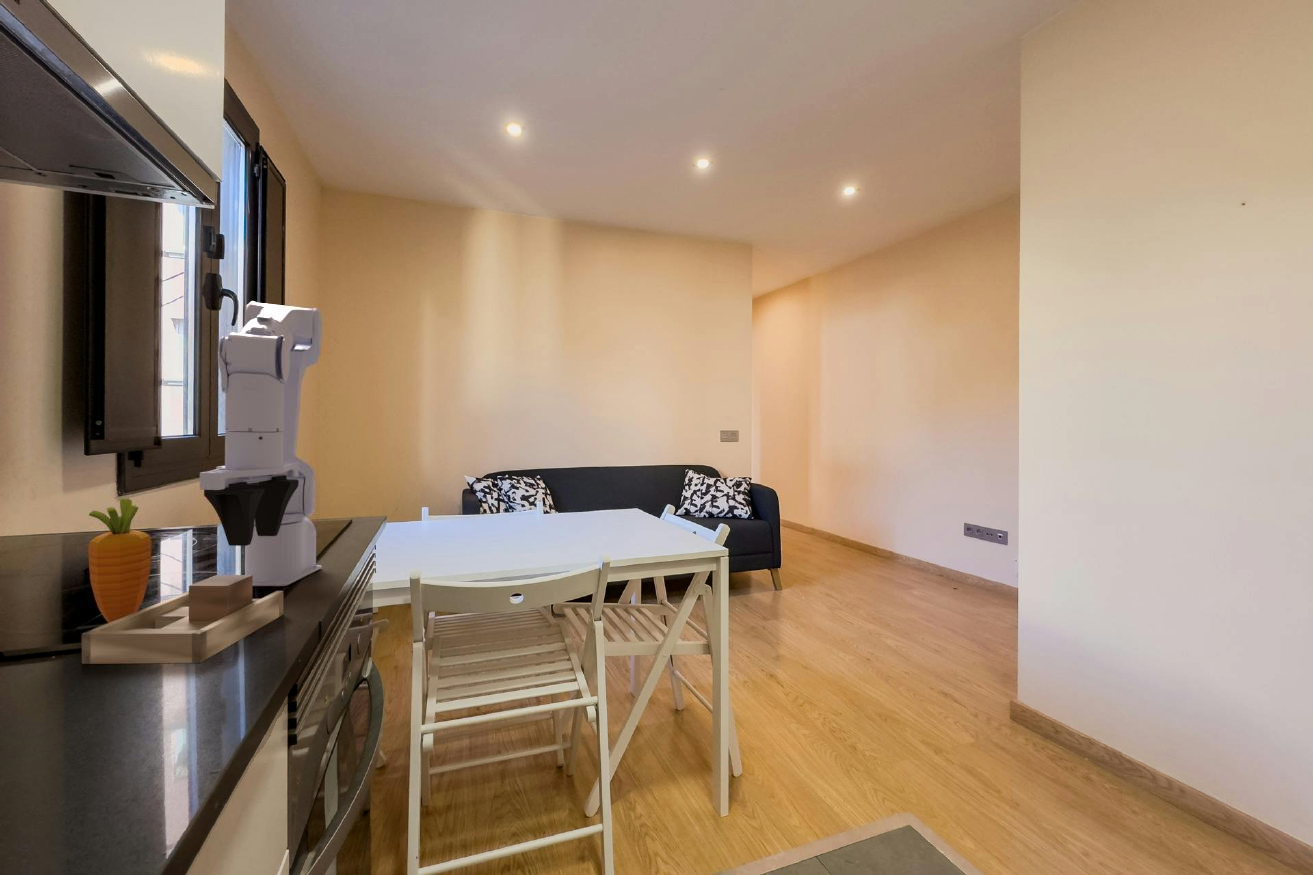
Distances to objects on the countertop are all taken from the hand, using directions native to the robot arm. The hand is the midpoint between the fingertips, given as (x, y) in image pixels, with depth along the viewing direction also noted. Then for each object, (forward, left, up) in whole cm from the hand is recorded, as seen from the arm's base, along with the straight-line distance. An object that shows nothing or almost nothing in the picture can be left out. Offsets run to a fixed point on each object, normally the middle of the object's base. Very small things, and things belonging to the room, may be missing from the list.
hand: (254, 540), depth 64 cm
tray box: (+7, -2, -9) cm, 12 cm away
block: (+5, 0, -7) cm, 9 cm away
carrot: (+5, -11, -10) cm, 15 cm away
